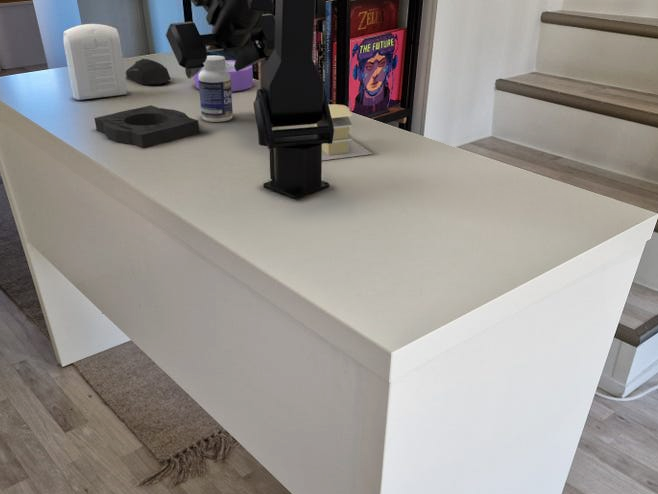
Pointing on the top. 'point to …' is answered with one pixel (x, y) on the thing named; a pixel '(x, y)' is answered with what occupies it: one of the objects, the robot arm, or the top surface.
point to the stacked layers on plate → (341, 136)
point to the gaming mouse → (148, 72)
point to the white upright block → (94, 61)
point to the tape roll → (234, 77)
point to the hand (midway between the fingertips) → (212, 72)
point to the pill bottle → (215, 90)
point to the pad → (158, 130)
